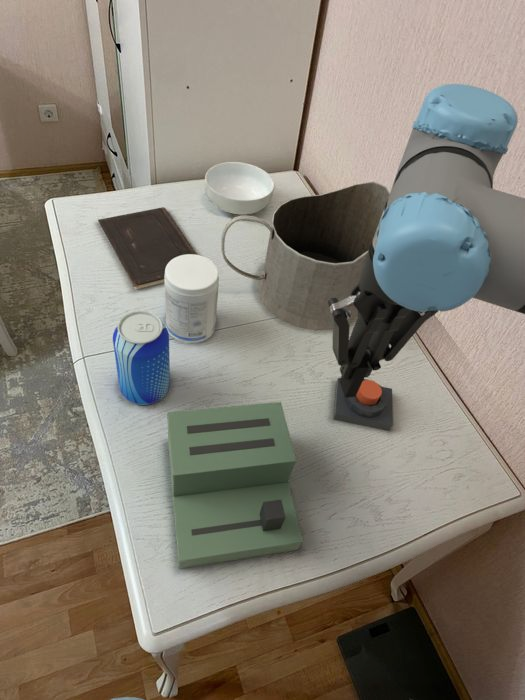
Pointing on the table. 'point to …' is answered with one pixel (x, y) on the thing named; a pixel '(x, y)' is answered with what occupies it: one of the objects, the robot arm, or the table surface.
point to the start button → (369, 393)
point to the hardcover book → (145, 244)
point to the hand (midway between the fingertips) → (347, 388)
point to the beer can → (142, 357)
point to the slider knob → (272, 515)
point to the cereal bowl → (239, 187)
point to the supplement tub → (191, 297)
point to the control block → (364, 409)
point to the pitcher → (316, 252)
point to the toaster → (230, 482)
